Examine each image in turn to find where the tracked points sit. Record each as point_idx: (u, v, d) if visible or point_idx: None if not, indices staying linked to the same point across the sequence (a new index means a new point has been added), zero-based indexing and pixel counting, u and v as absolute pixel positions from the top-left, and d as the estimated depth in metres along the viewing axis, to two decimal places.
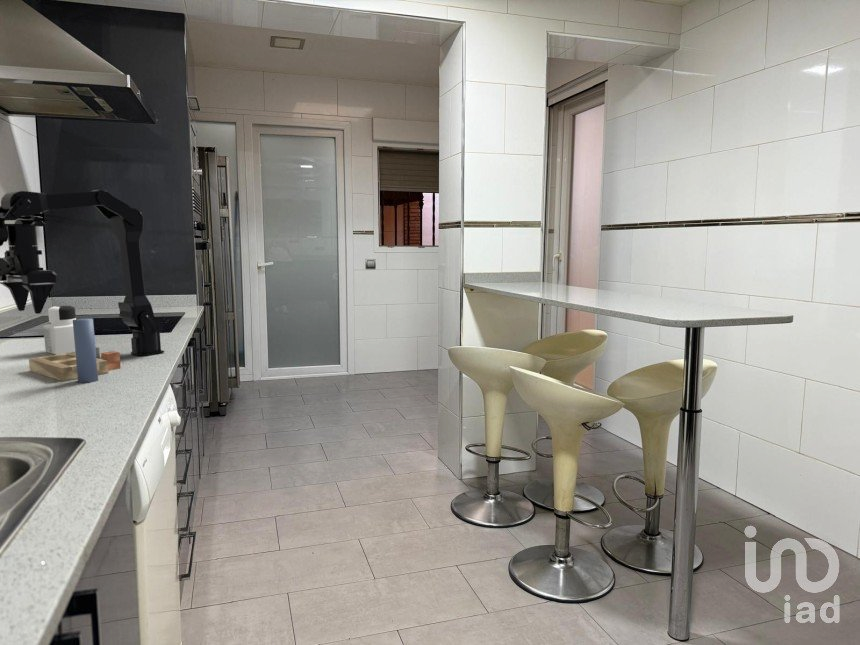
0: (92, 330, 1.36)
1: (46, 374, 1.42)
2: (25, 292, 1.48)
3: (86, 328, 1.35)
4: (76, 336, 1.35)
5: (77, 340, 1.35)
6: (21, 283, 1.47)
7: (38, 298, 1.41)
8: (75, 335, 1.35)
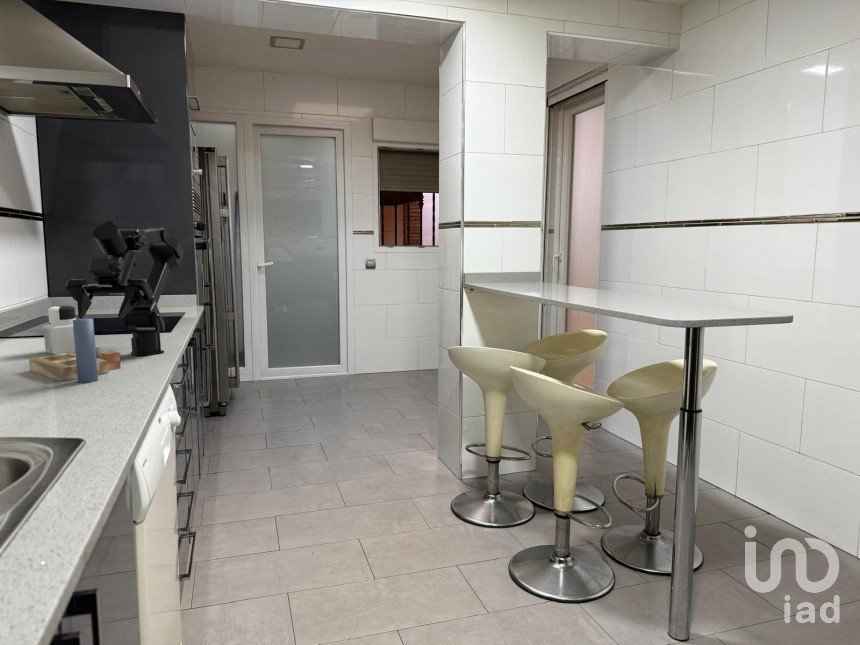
0: (92, 330, 1.36)
1: (46, 374, 1.42)
2: (86, 307, 1.47)
3: (87, 328, 1.35)
4: (76, 336, 1.35)
5: (77, 340, 1.35)
6: (87, 298, 1.48)
7: (128, 305, 1.46)
8: (75, 335, 1.35)
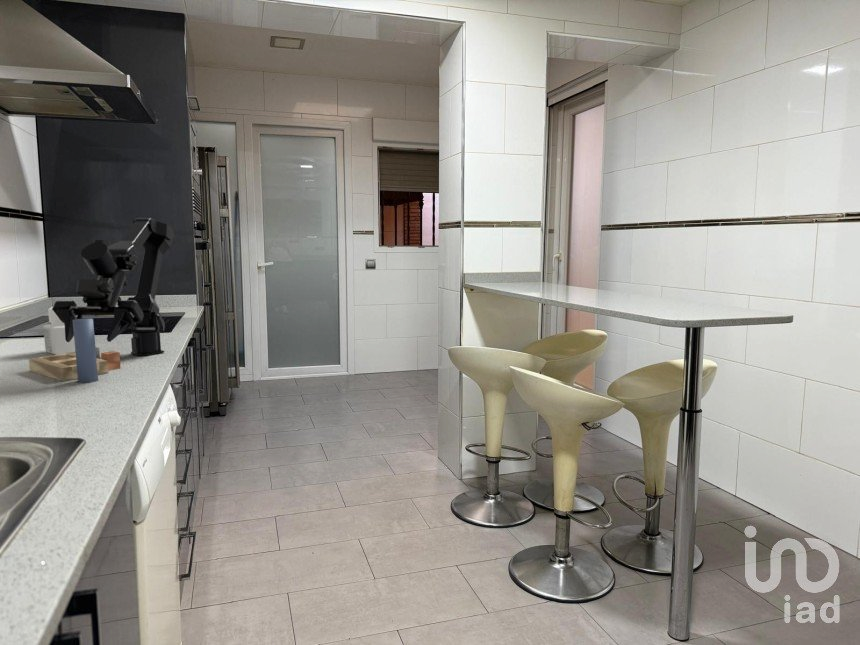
0: (92, 330, 1.36)
1: (46, 374, 1.42)
2: None
3: (86, 328, 1.35)
4: (76, 336, 1.35)
5: (77, 340, 1.35)
6: None
7: (118, 327, 1.40)
8: (75, 335, 1.35)
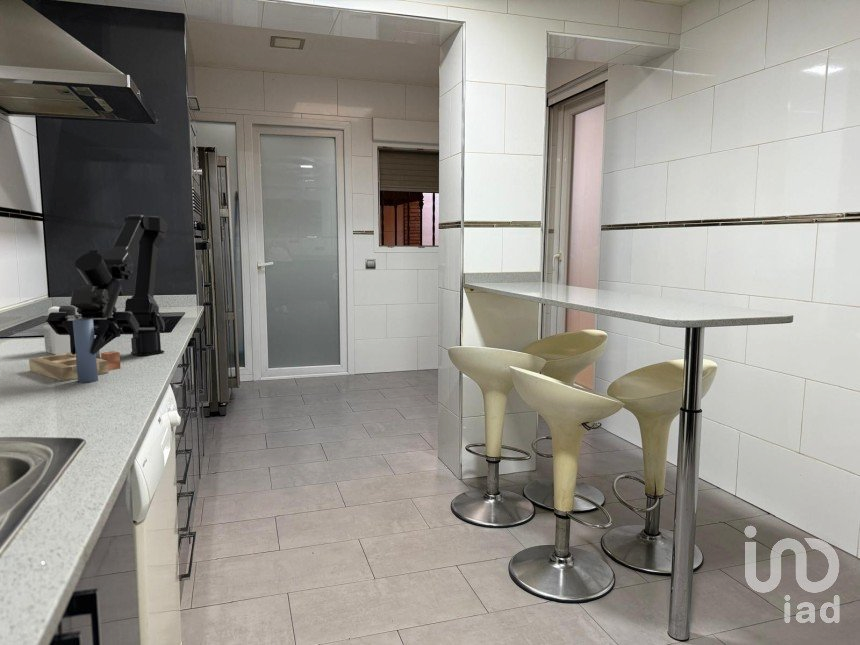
0: (92, 330, 1.36)
1: (46, 374, 1.42)
2: None
3: (86, 328, 1.35)
4: (76, 336, 1.35)
5: (77, 340, 1.35)
6: None
7: (102, 339, 1.38)
8: (75, 335, 1.35)
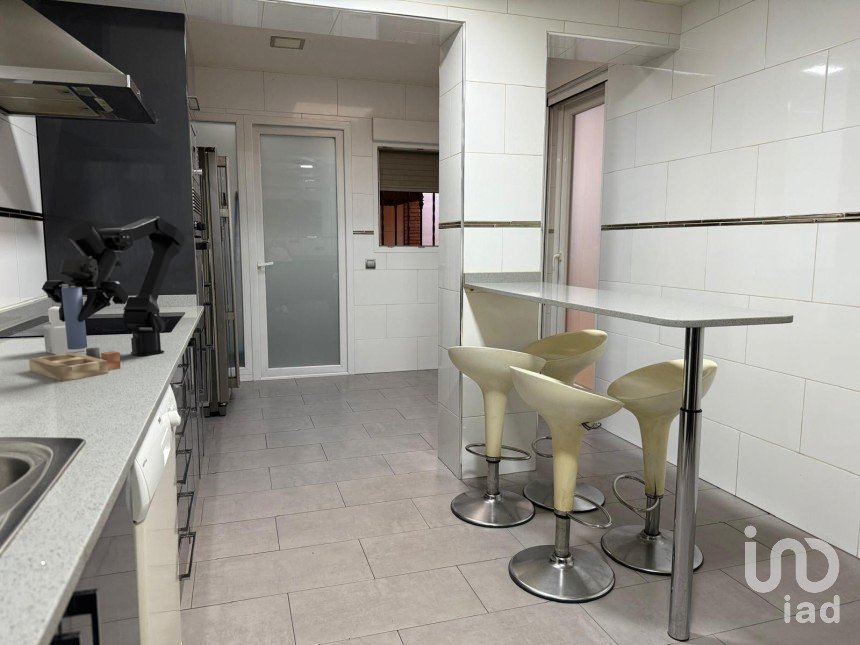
0: (80, 298, 1.39)
1: (46, 374, 1.42)
2: None
3: (74, 296, 1.38)
4: (64, 304, 1.38)
5: (65, 307, 1.38)
6: None
7: (90, 308, 1.41)
8: (63, 303, 1.38)
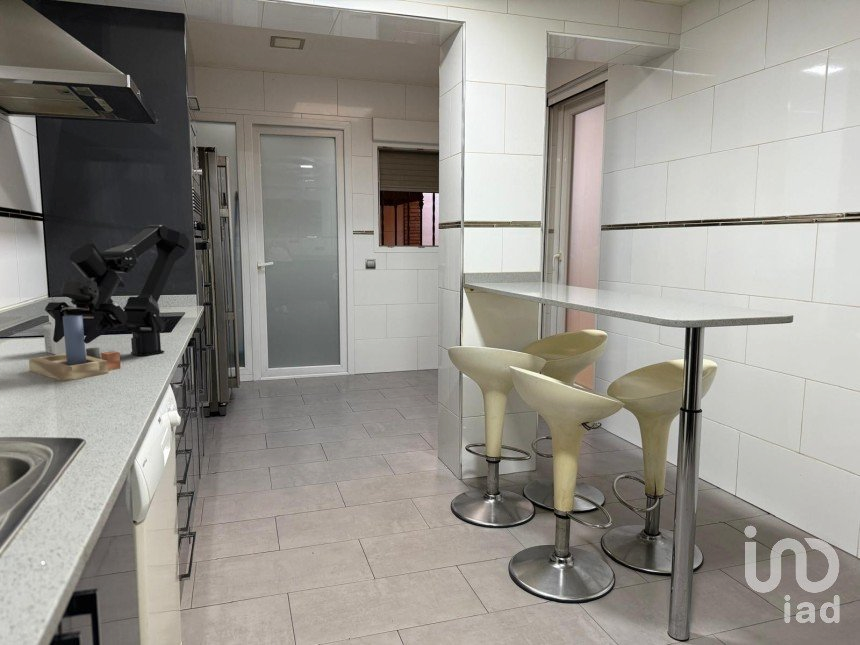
0: (80, 326, 1.42)
1: (46, 374, 1.42)
2: None
3: (74, 324, 1.41)
4: (65, 331, 1.41)
5: (65, 335, 1.41)
6: None
7: (96, 330, 1.43)
8: (64, 331, 1.41)
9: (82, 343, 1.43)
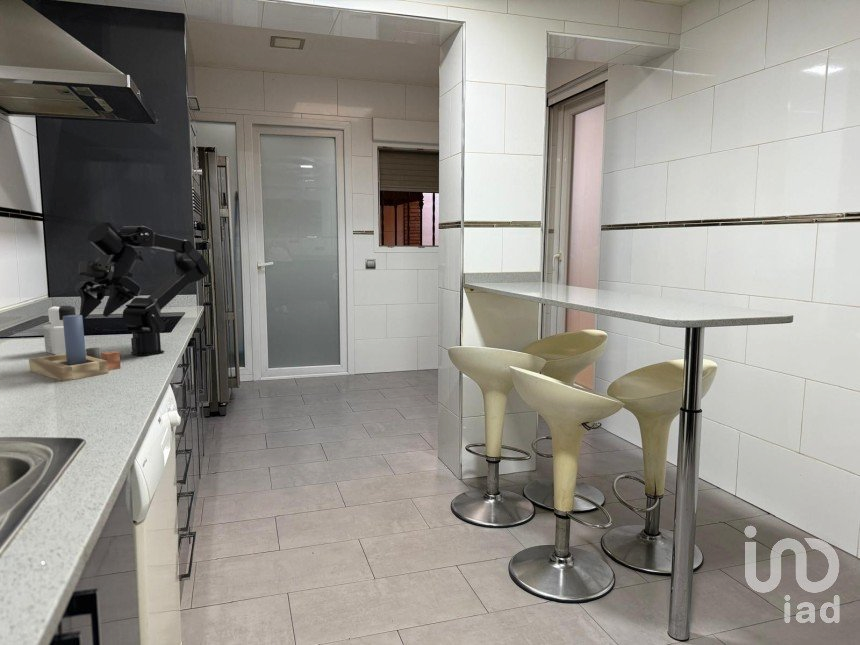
0: (80, 326, 1.42)
1: (46, 374, 1.42)
2: (92, 307, 1.56)
3: (74, 324, 1.41)
4: (65, 331, 1.41)
5: (65, 335, 1.41)
6: (94, 298, 1.57)
7: (113, 303, 1.50)
8: (64, 331, 1.41)
9: (82, 343, 1.43)
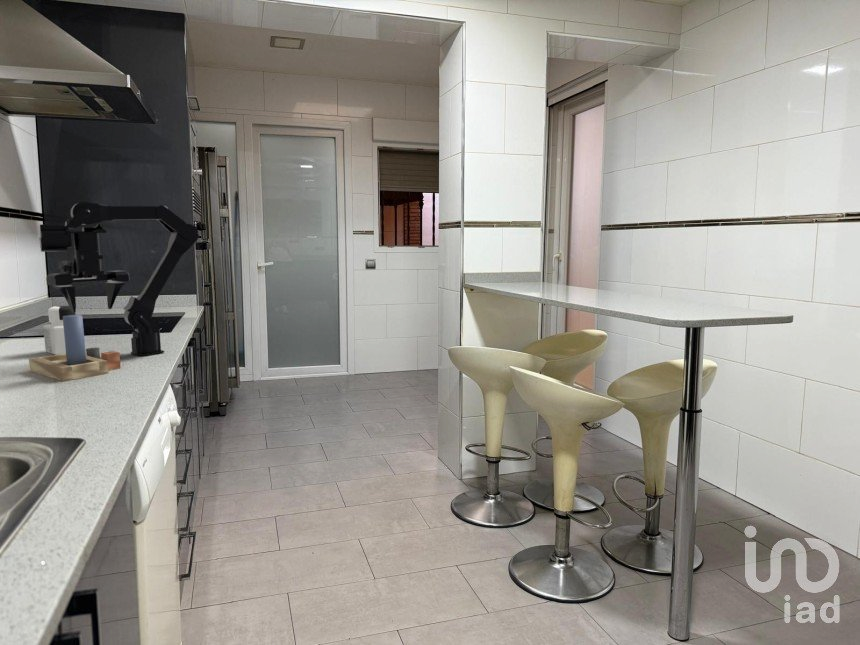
0: (80, 326, 1.42)
1: (46, 374, 1.42)
2: (112, 293, 1.63)
3: (74, 324, 1.41)
4: (65, 331, 1.41)
5: (65, 335, 1.41)
6: (111, 284, 1.63)
7: (67, 298, 1.55)
8: (64, 331, 1.41)
9: (82, 343, 1.43)
